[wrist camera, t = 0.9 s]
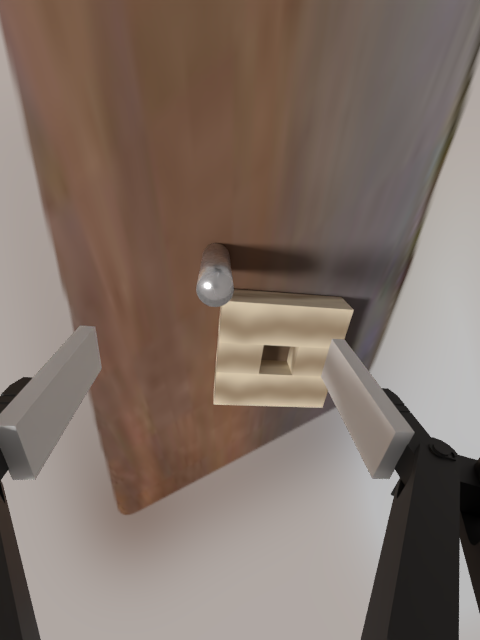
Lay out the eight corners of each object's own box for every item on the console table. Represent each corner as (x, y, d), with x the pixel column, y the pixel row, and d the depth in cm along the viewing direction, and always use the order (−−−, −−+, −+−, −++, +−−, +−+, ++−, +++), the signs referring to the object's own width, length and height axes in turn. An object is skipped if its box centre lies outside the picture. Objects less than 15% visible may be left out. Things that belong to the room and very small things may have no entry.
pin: (203, 241, 33) (197, 270, 23) (230, 244, 33) (235, 273, 24) (202, 268, 34) (195, 305, 25) (228, 270, 35) (231, 307, 25)
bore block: (221, 288, 36) (222, 300, 32) (341, 297, 38) (353, 309, 34) (213, 385, 43) (213, 404, 40) (314, 389, 45) (322, 407, 41)
